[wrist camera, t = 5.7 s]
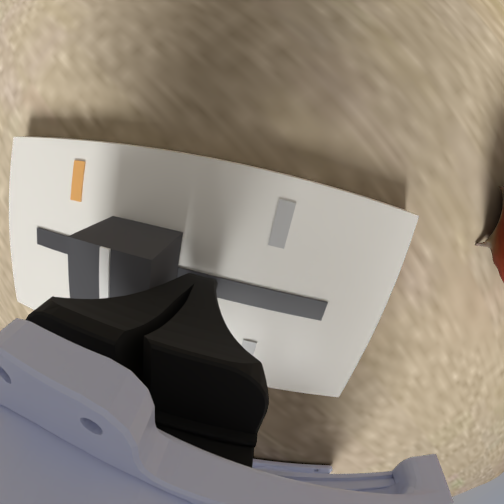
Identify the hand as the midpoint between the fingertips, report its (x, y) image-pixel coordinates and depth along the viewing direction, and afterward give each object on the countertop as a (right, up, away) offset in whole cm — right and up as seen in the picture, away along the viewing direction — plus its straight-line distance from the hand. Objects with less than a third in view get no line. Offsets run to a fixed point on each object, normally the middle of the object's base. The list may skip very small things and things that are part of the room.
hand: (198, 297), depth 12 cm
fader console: (-2, +1, +3) cm, 4 cm away
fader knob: (-3, +1, +1) cm, 3 cm away
